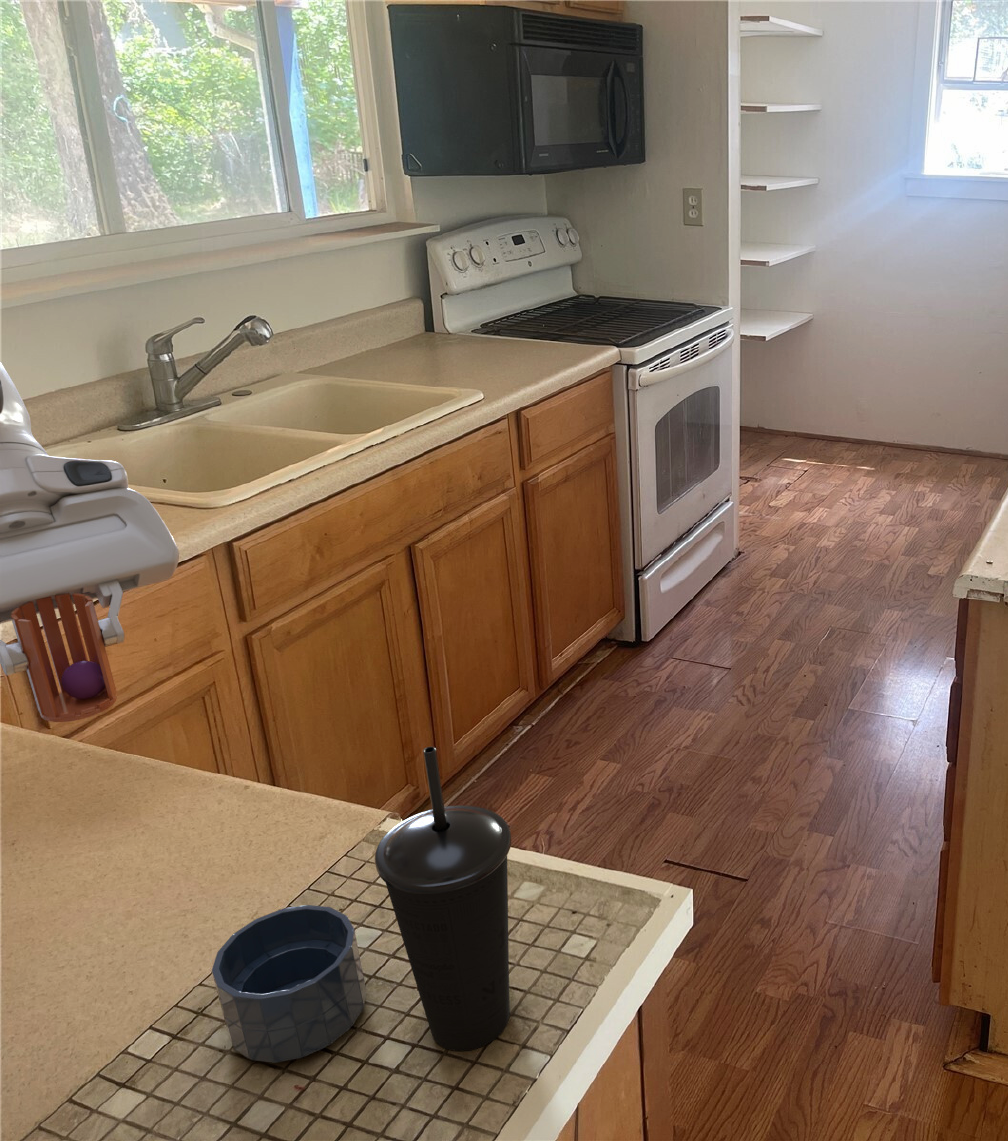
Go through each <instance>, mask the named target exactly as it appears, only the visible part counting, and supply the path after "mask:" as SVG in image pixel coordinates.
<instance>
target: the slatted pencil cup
mask: <svg viewBox="0 0 1008 1141" xmlns="http://www.w3.org/2000/svg"><path fill="white" fill-rule="evenodd" d="M72 596H73V600H74V605H73V603H72V599H71V595H70V593H66V594H57V595H55V599H56V603H57V606H58V609H57V610H58V614H59V617H60V622H61V624H62V625H61V626H62V628H63V631H64V635H65V639H66V642H67V646H68V650H69V653H70V658H71V661H72V664H74V663H76V662H79V661H91V662H95V663H97V664H98V665H100V667H101V671H102V674H103V678H104V682H105V687H104V689H103V690H102V691H101V692H100V693H99V694H98V695H96V696H94V697H92V698H89V699H77V698H74V697H72V696H70V695H68V694H67V693H66V692H65V690H64V689H63V687H62V675H63V673H64V671H65V670H66V669H67V668H68V667H69V666H70V665H71V663H70V660H69V657H68V654H67V649H66V646H65V643H64V639H63V634H62V631H61V629H60V628H61V627H60V624H59V621H58V617H57V614H56V609H55V610H54V606H53V602H52V599H51V596H49V597H45V598H41V599H37V600H36V604H37V607H38V611H39V614H36V611H35V607H34V604H33V601H29V602H27V603H25V604H22V605H20V606H19V608H15V609H14V611H13V612H12V613H11V619H12V621H11V622H12V626H13V629H14V633H15V635H16V639H17V642H20V645H21V647H22V649H23V653H24V654H26V656H27V659H28V662H29V666H28V670H26V673H27V676H28V680H29V683H30V687H31V689H32V693H33V697H34V700H35V704H36V707H37V712H39V715H40V718H42V719H43V720H45V721H47V722H51V723H52V722H53V723H69V722H75V721H81V720H84V719H88V718H91V717H93V716H96V715H99V714H101V713H102V712H105V711H107V710H108V709H109V708H111V707H112V706H113V705H114V704H116V702H117V700H118V695H117V694H118V693H117V689H116V685H115V681H114V677H113V672H112V669H111V665H110V662H109V658H108V654H107V650H106V647H105V646H104V642H103V640H102V636H101V630H100V626H99V623H98V620H99V618H98V616H97V611H96V607H95V604H94V599H92V598H91V597H90V596H86V595H85V594H78V593H74V594H72ZM75 610H76V611H75ZM76 614H77V615H76ZM38 615H39V617H40V621H41V624H40V621H39V618H38ZM40 625H42V628H43V632H42V629H41V626H40ZM43 633H44V635H43ZM44 636H45V639H46V643H47V645H46V643H45V639H44ZM83 640H84V641H83ZM84 644H85V645H84ZM46 646H48V649H47V647H46ZM48 650H49V653H50V654H49V653H48ZM49 655H50V657H51V660H52V664H53V667H54V671H55V674H54V671H53V667H52V665H51V660H50V657H49ZM87 655H88V656H87ZM55 675H56V678H57V682H58V685H59V688H60V689H58V685H57V682H56V678H55ZM59 690H60V692H59Z"/></svg>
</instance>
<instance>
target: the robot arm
mask: <svg viewBox="0 0 1008 1141" xmlns="http://www.w3.org/2000/svg"><path fill="white" fill-rule="evenodd" d="M128 478H129V477H128V472H127V471H126V469H125V467H124V466H123V464H122V463H120V462H117V461H114V460H106V459H105V460H104V459H84V458H72V457H61V456H53V455H48V453H47V451H46V449H45V448H44V447H43V446H42V445H41V443H39V441H37V439H35V437H34V435H33V432H32V421H31V415H30V413H29V411H28V409H27V407H26V405H25V402H24V400H23V399H22V396H21V394H20V393H19V390H18V389H17V387H16V384H15V383H14V381H13V380H12V378H11V376H10V375H9V373H8V372H7V370H6V368H5V366H4V364H2V362H1V361H0V624H4V623H8V622H12V619H11V613H12V612H13V611H14V609H15V608H19V606H20V605H22V604H25V603H27V602H29V601H33V604H34V607H35V611H36V614H37V615H39V611H38V607H37V604H36V600H37V599H41V598H45V597H49V596H51V599H52V602H53V606H54V610H55V611H56V610H58V606H57V603H56V599H55V595H57V594H66V593H70V595H71V599H72V603H73V606H75V604H74V600H73V596H72V594H74V593H78V594H85V595H86V596H90V597H91V598H92V599H93V600H98V602H99V604H100V606H101V608H102V609H106V608H108V611H107V616H106V617H105V618H102V619H98V623H99V626H100V630H101V636H102V640H103V642H104V646H105V648H106V647H110V646H111V647H112V646H114V645H118V644H122V643H124V642H125V638H126V636H125V631H124V628H123V627H122V625H121V622H120V620H119V615H120V612H121V611H120V610H121V606H122V602H123V596H124V592H128V591H131V590H135V589H139V588H143V587H146V586H147V587H148V586H151V585H154V584H158V583H159V584H160V583H162V582H163V583H164V582H167V581H169V580H171V579H172V578H173V576H174V574H175V572H176V570H177V567H178V564H179V560H180V550H179V547H178V545H177V542H176V540H175V539H174V537H173V535H172V533H171V531H170V529H169V527H168V526H167V524H166V522H165V520H163V518H162V517H161V515H160V514H159V512H158V510H157V509H156V508H155V506H154V505H153V504H152V503H151V501H150V500H149V499H148V498H147V497H146V496H144V495H143V494H142V493H140V492H138V491H136V490H134V489H131V488H129V479H128ZM0 666H1V668H2V671H3V673H4V675H5V676H7V677H8V676H11V675H14V674H18V673H21V672H24V671H27V670H28V666H29V662H28V659H27V656H26V654H24V653H23V649H22V647H21V645H20V642H18V641H17V642H13V643H9V644H7V643H6V642H4V641H3V640H2V639H0Z"/></svg>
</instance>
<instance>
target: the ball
mask: <svg viewBox="0 0 1008 1141" xmlns="http://www.w3.org/2000/svg"><path fill="white" fill-rule="evenodd" d="M62 687H63V689H64V690H65V692H66V693H67V694H68V695H70V696H72V697H74V698H77V699H89V698H92V697H94V696H96V695H98V694H99V693H100V692H101V691H102V690H103V689H104V687H105V682H104V678H103V674H102V671H101V667H100V665H98V664H97V663H95V662H91V661H90V660H88V661H79V662H76V663H74V664H73V663H72V664H70V666H69V667H68V668H67V669H66V670H65V671H64V673H63V675H62Z"/></svg>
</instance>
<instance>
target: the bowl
mask: <svg viewBox="0 0 1008 1141" xmlns="http://www.w3.org/2000/svg"><path fill="white" fill-rule="evenodd" d="M359 951H360V950H359V946H358V942H357V936H356V930H355V928H354V926H353V924H352V922H351V921H350V919H349V917H348V916H347V915H346V914H345V913H343V912H341V911H338V910H336V909H334V908H333V907H331V906H322V905H315V904H314V905H313V904H312V905H311V904H305V905H298V906H291V907H286V908H285V907H284V908H280V909H278V910H275V911H273V912H270V913H267V914H264V915H262V916H260V917H257V918H255V919H253V920H252V921H250V922H249V923H247V924H245V925H244V926H243V927H242V928H239V929H238V930H237V931H235V932H234V933H233V934H231V935H230V937H229V938H228V939H226V941H225V942H224V944H222V946H221V947H220V948H219V949H218V950H217V952H216V955H215V958H214V962H213V964H212V968H211V974H212V977H213V981H214V982H213V983H214V985H215V989H216V993H217V997H218V1000H219V1004H220V1007H221V1012H222V1016H223V1019H224V1024H225V1027H226V1030H227V1034H228V1036H229V1037H228V1038H229V1039H230V1041H231V1045H232V1048H233V1049H234V1051H236V1052H237V1053H239V1054H240V1055H242V1056H244V1057H245V1058H247V1059H248V1060H249V1061H250V1060H251V1061H256V1062H257V1061H258V1062H264V1063H265V1062H266V1063H273V1064H274V1063H282V1062H288V1061H292V1060H297V1059H303V1058H305V1057H307V1056H309V1055H311V1054H314V1053H316V1052H318V1051H320V1050H322V1049H324V1048H326V1047H328V1046H330V1045H332V1044H333V1043H334V1042H336V1041H338V1039H339V1038H340V1037H342V1036H343V1035H344V1034H345V1033H346V1032H348V1031H349V1030H350V1029H352V1028H353V1026H354V1024H355V1023H356V1021H357V1019H358V1018H359V1017H360V1014H361V1013H362V1011H363V1010H364V1008H365V1005H366V1004H365V1003H366V996H367V995H366V994H367V986H366V982H365V977H364V971H363V966H362V962H361V955H360V952H359Z"/></svg>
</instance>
